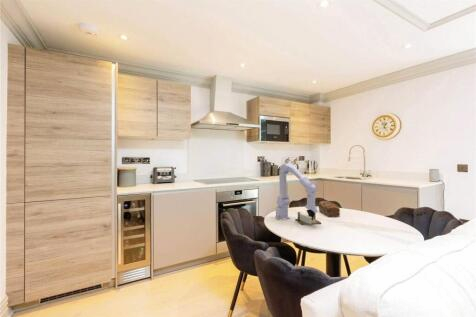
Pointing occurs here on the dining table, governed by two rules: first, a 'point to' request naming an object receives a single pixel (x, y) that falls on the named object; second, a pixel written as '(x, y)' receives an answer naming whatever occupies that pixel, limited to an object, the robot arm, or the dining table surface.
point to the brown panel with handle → (305, 222)
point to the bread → (329, 209)
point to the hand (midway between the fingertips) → (311, 220)
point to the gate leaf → (305, 218)
